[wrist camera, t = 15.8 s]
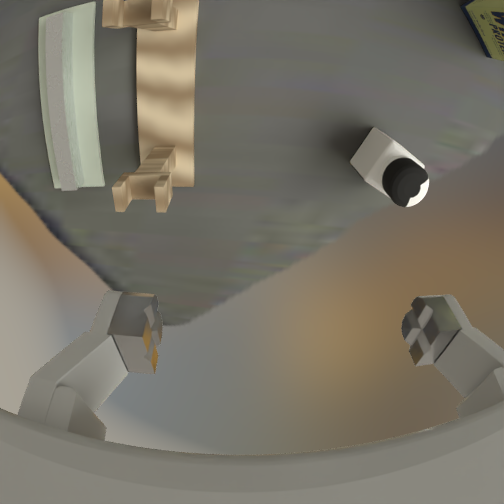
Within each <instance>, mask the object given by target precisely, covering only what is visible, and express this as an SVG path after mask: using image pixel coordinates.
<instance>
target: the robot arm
mask: <svg viewBox="0 0 504 504" xmlns="http://www.w3.org/2000/svg"><path fill="white" fill-rule="evenodd" d="M158 305H159V302H158V298H157V295H155V294H144V293H133V292H119V291H107V293H106V294H105V295H104V297H103V300H102V302H101V304H100V307H99V309H98V312H97V314H96V317H95V319H94V322H93V325H92V327H91V330H90V332H84V333H83V334H82V335H81V336H80V337H78V338H77V339H76V340H74V341H73V342H72V343H71V344H70V345H68V346H67V347H66V348H65V349H63V350H62V351H61V352H60V353H58V354H57V355H56V356H55V357H54V358H52V359H51V360H50V361H49V362H47V363H46V364H45V365H44V366H43V367H42V368H40V369H39V370H38V371H37V372H35V373H34V374H33V375H32V376H31V378H30V380H29V383H28V386H27V389H26V391H25V394H24V397H23V400H22V403H21V406H20V409H19V412H18V415H16V414H13V413H11V412H8V411H6V410H3V409H1V408H0V504H504V350H503V349H502V348H501V347H500V346H498V345H497V344H496V343H495V342H493V341H492V340H491V339H490V338H488V337H487V336H486V335H484V334H483V333H482V332H480V331H479V330H478V329H477V328H473V327H472V326H471V324H470V322H469V320H468V319H467V317H466V315H465V314H464V312H463V310H462V309H461V307H460V305H459V304H458V302H457V300H456V299H455V297H454V296H452V295H436V296H418V297H416V298H415V299H414V300H413V302H412V304H411V307H412V310H410V311H409V312H408V313H407V314H406V315H405V317H404V319H403V321H402V328H401V329H402V335H403V337H404V340H405V341H406V342H407V343H409V344H410V349H409V352H410V354H411V356H412V359H413V362H414V364H415V366H420V365H427V364H434V366H436V368H437V369H438V370H439V371H440V372H441V373H442V374H443V375H444V376H445V377H446V378H447V379H448V380H449V382H450V383H451V384H452V385H453V386H454V387H455V388H456V389H457V390H458V391H459V392H460V394H461V395H462V396H463V397H464V398H465V399H464V400H463V401H462V402H461V403H460V404H458V406H457V408H456V409H457V412H458V415H459V419H456V420H454V421H451V422H448V423H445V424H441V425H438V426H435V427H432V428H428V429H425V430H421V431H418V432H414V433H410V434H407V435H403V436H398V437H394V438H390V439H386V440H381V441H376V442H372V443H366V444H360V445H354V446H348V447H342V448H335V449H328V450H320V451H310V452H299V453H287V454H286V453H285V454H265V455H219V454H198V453H185V452H175V451H165V450H157V449H149V448H143V447H136V446H130V445H124V444H119V443H114V442H108V441H104V440H105V434H106V427H105V425H104V424H103V423H102V422H101V420H100V419H98V417H97V416H96V415H95V414H94V412H95V411H96V410H97V409H98V408H99V407H100V405H101V404H102V403H103V402H104V401H105V400H106V398H107V397H108V396H109V395H110V394H111V393H112V392H113V391H114V389H115V388H116V387H117V386H118V385H119V384H120V382H121V381H122V380H123V379H124V378H125V377H126V376H127V375H128V372H136V373H146V374H155V372H156V366H157V361H158V353H157V349H156V348H157V347H158V346H159V345H160V344H161V338H162V328H163V325H162V317H161V314H160V313H159V312H158V311H157V309H158Z"/></svg>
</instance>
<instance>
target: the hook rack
mask: <svg viewBox="0 0 504 504" xmlns="http://www.w3.org/2000/svg"><path fill="white" fill-rule="evenodd" d="M198 6H199V0H128V1H123V0H103V17H102V27H107V28H116V29H119V28H125V27H134V28H137V113H138V133H139V148H140V161H141V165H140V166H139V168H138V169H137V170H136V172H130V173H123V174H122V176H121V177H120V178H119V179H118V180H117V182H116V183H115V184H114V185H113V187H112V191H113V197H114V203H115V209H116V212H124V211H125V210H126V208H127V206H128V205H129V203H130V201H131V200H132V199H155V200H156V210H157V212H166V210H167V208H168V205H169V203H170V200H171V198H172V196H173V195H172V186H179V187H194V91H195V60H196V38H197V21H198Z"/></svg>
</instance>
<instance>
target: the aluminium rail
mask: <svg viewBox="0 0 504 504" xmlns="http://www.w3.org/2000/svg"><path fill="white" fill-rule="evenodd" d="M72 33H73V13H67V12H62V13H59V14H56V15H53V16H50V17H47V18H46V42H45V50H46V81H47V96H48V107H49V116H50V125H51V133H52V140H53V146H54V153H55V158H56V164H57V169H58V175H59V180H60V184H61V189H62V191H68V190H77V189H78V188H79V187H80V186H81V185H82V184H83V183H84V182H85V181H84V175H83V169H82V163H81V156H80V149H79V142H78V133H77V125H76V115H75V103H74V88H73V63H72Z"/></svg>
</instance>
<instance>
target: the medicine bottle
mask: <svg viewBox="0 0 504 504" xmlns="http://www.w3.org/2000/svg"><path fill="white" fill-rule="evenodd" d="M350 164H351V165H352V166H353V167H354V169H355V170H356V171H357V172H358V173H359V175H360V176H361V177H362V178H363V179H364V181H366V182H367V183H369V184H370V185H372V186H373V187H375V188H376V189H378V190H379V191H381V192H382V193H384V194H385V195H386V196H388V197H389V198H391V199H392V200H393V202H394V203H395V204H397V205H399V206H402V207H409V206H413V205H415V204H417V203H418V202H420V201H421V200H422V199H423V197H424V196H425V195H426V193H427V190H428V186H429V178H428V175H427V172H426V171H425V170H424V167H425V166H424V164H422V163H421V162H420V161H419V160H418V159H417V158H415V157H414V156H413V155H412V154H411V153H409V152H408V151H407V150H406V149H405V148H403V147H402V146H401V145H400V144H398V143H397V142H396V141H395V140H393V139H392V138H390V137H389V136H388V135H386V134H385V133H383V132H382V131H380V130H379V129H377V128H376V127H373V128H372V130H371V131H370V133H369V134H368V136H367V137H366V139H365V140H364V141H363V143H362V144H361V146H360V147H359V149H358V150H357V152H356V153H355V155H354V156H353V157H352V159H351V160H350Z"/></svg>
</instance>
